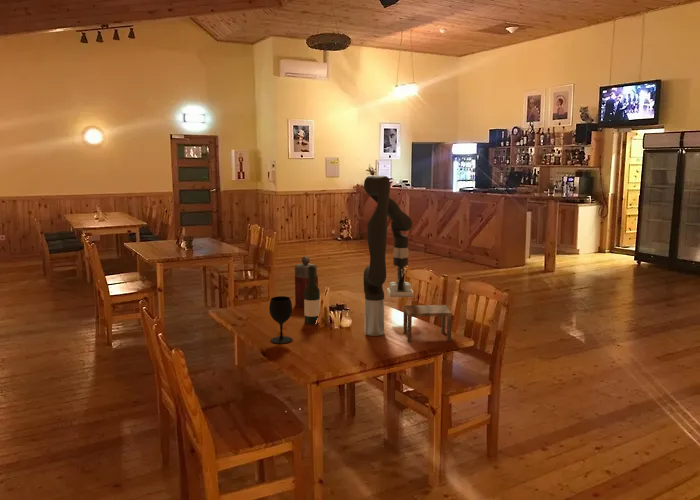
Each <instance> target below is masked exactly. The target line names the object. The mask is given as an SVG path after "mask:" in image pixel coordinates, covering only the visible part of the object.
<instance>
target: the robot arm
mask: <svg viewBox="0 0 700 500" xmlns="http://www.w3.org/2000/svg"><path fill="white" fill-rule="evenodd" d="M363 188H364V191H365V193H366V194H367V195H368V196H369V197H370V198H371V199H373V201H374V202H375V203H377V205H376V208H375V210H373V211H374V212H373V213H372V214H371V216H370V218H369V220H368V222H367V224H366V228H367V229H366V230H367V231H366V238H367V239H366V241H367V245H368V246H367V247H368V251H369V265H367V266H366V267H365V269H364V272H363V293H364V330H363V331H364V335H365V336H373V337H379V336H382V335H384V334H385V292H384V289H383V284H384V283H385V282H386V279H387V266H386V265H387V264H386V253H387V237H388V235H387V234H388V219H389V220H390V227H391V231H392V234H393V235H392V236H393V242H394V243H393V257H392V258H393V260H392V262H393V266H395V267H396V269H395V271H396V280H397V281H398V290H403V282H404V281H405V276H406V269H405V268H404V267H407V266H408V265H409V237H408V236H407V235H404V234H403V233H402V232H409V231H410V230H411V229H412V227H413V221H412V219H411V217H410V216H409V215H408V214H407V213H405V212H404V211H402V209H401V207H400V206H399V204H398V203H397V202H396V201H395V200H394V199H393V198H391V197H390V194H391V182H390V177H388V176H386V175H376V174H374V175H368V176H367V177H366V178H365V179H364V181H363ZM397 281H396V282H397Z"/></svg>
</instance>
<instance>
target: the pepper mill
mask: <svg viewBox="0 0 700 500" xmlns="http://www.w3.org/2000/svg"><path fill="white" fill-rule="evenodd" d="M310 264H311V263H310V258H309V256H303V257H302V258H301V263H299V264H298V263H297V264H295V265H294V300H295V301H294V304H295V306H297V307H301V308H304V290H305V288H306V286H307V285H308V283H309V272H308V266H309V265H310ZM312 264H313V265H314V266H315V283H316V285H317V286H318V287H319V278H318V273H317V272H318V269H317V267H318V266H317V265H316V264H315V263H312Z"/></svg>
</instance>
